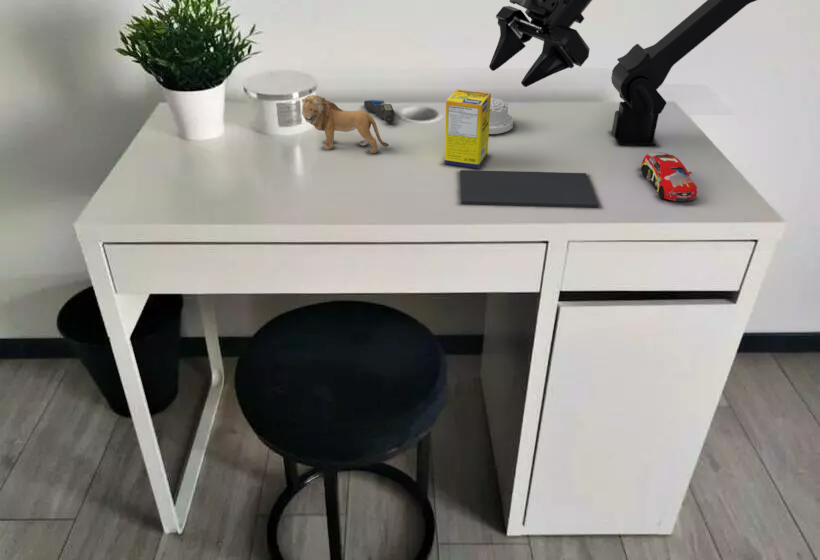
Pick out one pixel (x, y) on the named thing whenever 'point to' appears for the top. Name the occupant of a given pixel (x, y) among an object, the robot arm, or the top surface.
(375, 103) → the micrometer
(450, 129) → the supplement box
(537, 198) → the desk pad
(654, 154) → the race car
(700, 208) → the top surface
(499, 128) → the mechanical component
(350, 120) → the lion figurine
